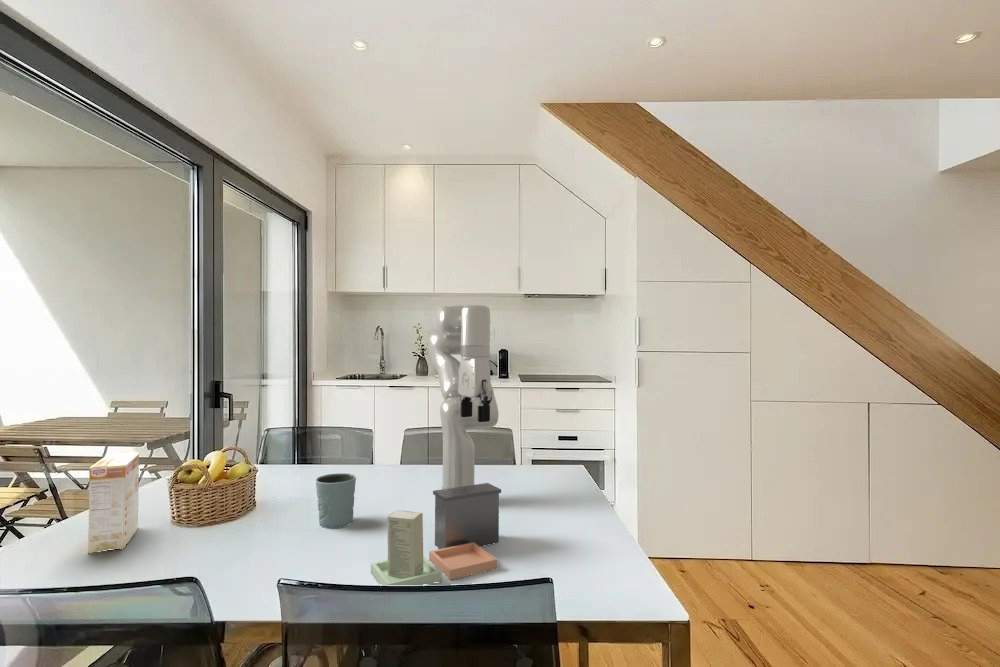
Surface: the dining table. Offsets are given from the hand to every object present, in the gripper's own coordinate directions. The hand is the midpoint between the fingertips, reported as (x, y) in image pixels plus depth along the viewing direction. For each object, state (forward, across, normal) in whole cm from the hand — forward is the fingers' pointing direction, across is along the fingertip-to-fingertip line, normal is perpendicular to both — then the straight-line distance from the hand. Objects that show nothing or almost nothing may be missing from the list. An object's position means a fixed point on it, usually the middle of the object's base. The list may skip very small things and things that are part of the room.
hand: (474, 419), depth 135 cm
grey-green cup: (+28, -22, -30) cm, 47 cm away
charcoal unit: (+28, +8, -6) cm, 30 cm away
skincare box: (+28, +18, -25) cm, 41 cm away
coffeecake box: (+29, -35, -79) cm, 91 cm away
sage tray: (+28, +18, -25) cm, 42 cm away
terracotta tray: (+28, +18, -12) cm, 36 cm away
